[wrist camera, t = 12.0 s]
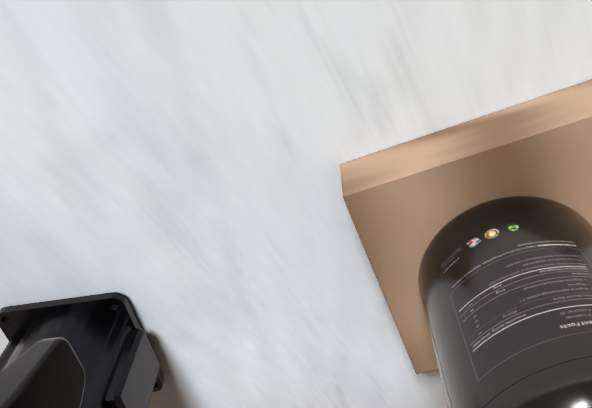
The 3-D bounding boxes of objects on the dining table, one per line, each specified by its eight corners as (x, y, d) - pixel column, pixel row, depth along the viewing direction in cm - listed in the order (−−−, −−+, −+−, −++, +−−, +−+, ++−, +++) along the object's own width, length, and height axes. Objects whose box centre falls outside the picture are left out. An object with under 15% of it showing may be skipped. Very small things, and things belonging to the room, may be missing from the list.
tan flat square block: (408, 333, 27) (416, 374, 25) (340, 164, 22) (342, 196, 20) (625, 277, 25) (654, 316, 23) (601, 76, 20) (636, 102, 18)
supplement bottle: (614, 290, 22) (878, 664, 12) (451, 347, 24) (557, 712, 14) (569, 155, 19) (874, 504, 9) (385, 233, 21) (459, 595, 10)
